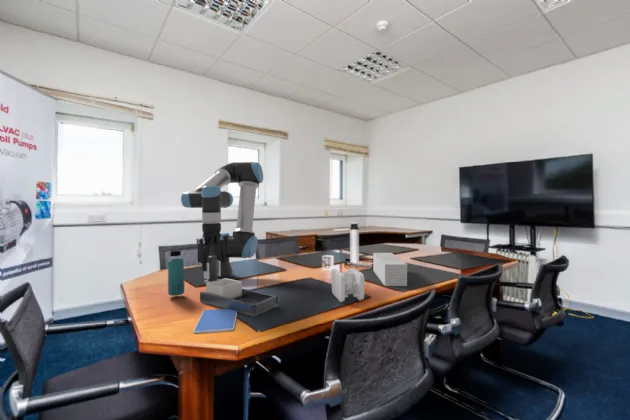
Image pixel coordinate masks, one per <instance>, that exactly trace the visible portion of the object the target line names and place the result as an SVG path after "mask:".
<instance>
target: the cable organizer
mask: <svg viewBox="0 0 630 420" xmlns="http://www.w3.org/2000/svg"><path fill="white" fill-rule="evenodd" d="M331 292H332V294H333V296H334V297H335V298H336V299H337V300H338V302H339V303H343V302H345V301H346V298H347V299H348V298H349V296H348V295H352V296H353V298H356V299H357V300H358V301H359V302H360V301H363V300H364V299H365V275H364V274H363V273H362V272H361V271H359V270H358V269H356V268H354V267H349V268H348V270H347V272H341V271H339V270H338V269H337V268H332V269H331Z"/></svg>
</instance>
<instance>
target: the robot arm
mask: <svg viewBox="0 0 630 420" xmlns="http://www.w3.org/2000/svg"><path fill="white" fill-rule="evenodd" d="M263 182H264V172H263V167H262V165H261V164H260V162H254V161H246V162H241V161H239V162H238V161H237V162H234V161H233V162H230V163H227V164H225V165H222V166H220V167H219V168H218V169H217V170H215V172H214V173H213V175H212V176H211V177H209V178H207V179H206V180H205V181H204V182H202V183H201V184H200V185H199V186H197V187H196V188H195V189H194V190H192V191H191V190H190V191H189V190H188V191H184V192H182V194H181V196H180V202H181V204H182V206H183V207H184V208H189V209H202V211H201V212H202V213H201V221H202V224H201V225H202V226H201V230H202V236H201V237H200V238H196V243H197V263H201V270H202V272H203V279H205V280H207V279H209V263H207V262H208V257H209V256H217V279H224V278H227V279H231V277H233V276H234V270H233V269H232V265H231V263H230V258H234V259H235V258H238V259H240V258H241V259H250V258H253V257H254V255H255V254H256V253H257V249H258V245H259V242H258V241H259V240H258V237H257V236H256V233H255V232H254V230H253V228H254V227H253V225H254V214H255V205H256V204H255V203H256V195H257V194H256V193H257V192H256V191H257V189H258V188H259V187H260V184H261V183H263ZM236 183H237V185H238V186H239V187H240V188H239V190H240V191H239V197H238V198H239V200H238V206H237V207H238V209H237V218H236V228H235V230H233V231H232V235H230V233H229V232H223V233H221V230H222V224H221V223H220V222H221V221H222V211H221V210H222V209H226V208H229V207H231V206H232V205H233V203H234V198H233V197H234V196H233V195H232V193H230V192H229V191H228V192H227V191H225V190H224V191H221V189H222V188H223V187H224V186H228V185H229V184H236Z"/></svg>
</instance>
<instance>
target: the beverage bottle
mask: <svg viewBox="0 0 630 420" xmlns="http://www.w3.org/2000/svg"><path fill="white" fill-rule="evenodd" d="M181 252H182V251H181V250H180V249H179V250H178V249H175V250H171V251H170V254H169V255H170V257H171V258H170V259H169V260H167V274H168V275H167V284H168V285H167V289H168V290H167V293H168V295H169V296H170V297H171V296H173V297H174V296H181V295H183V294H184V293H185V291H186V290H185V288H186V287H185V268H184V267H185V266H184V259H183V258H181V256H182V253H181ZM179 256H180V257H179Z"/></svg>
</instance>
